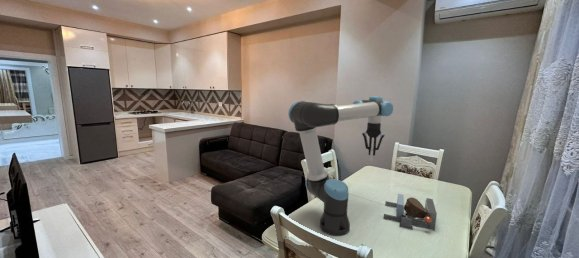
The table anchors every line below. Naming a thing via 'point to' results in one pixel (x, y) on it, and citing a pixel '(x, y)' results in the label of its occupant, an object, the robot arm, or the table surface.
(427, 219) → the lever
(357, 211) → the table surface
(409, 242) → the table surface
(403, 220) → the vise frame
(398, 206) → the vise jaw
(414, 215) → the rock
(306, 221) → the table surface
